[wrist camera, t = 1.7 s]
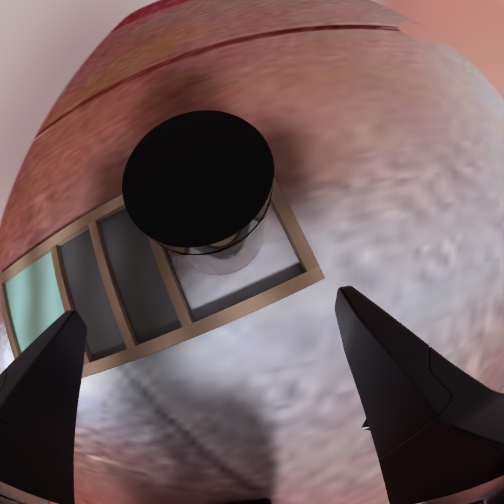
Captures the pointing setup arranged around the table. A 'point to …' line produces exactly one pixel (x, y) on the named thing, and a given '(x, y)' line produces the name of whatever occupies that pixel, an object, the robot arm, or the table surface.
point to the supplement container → (202, 189)
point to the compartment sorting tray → (123, 287)
